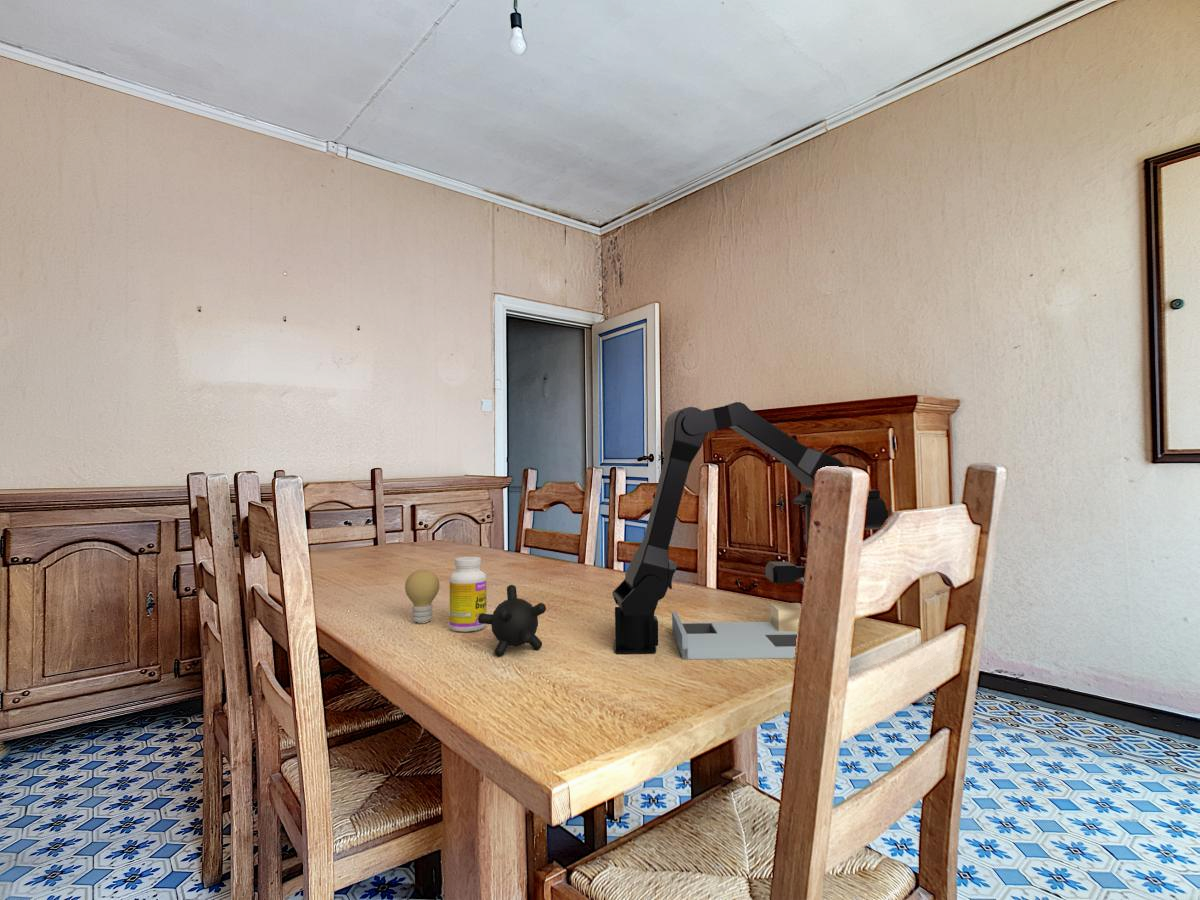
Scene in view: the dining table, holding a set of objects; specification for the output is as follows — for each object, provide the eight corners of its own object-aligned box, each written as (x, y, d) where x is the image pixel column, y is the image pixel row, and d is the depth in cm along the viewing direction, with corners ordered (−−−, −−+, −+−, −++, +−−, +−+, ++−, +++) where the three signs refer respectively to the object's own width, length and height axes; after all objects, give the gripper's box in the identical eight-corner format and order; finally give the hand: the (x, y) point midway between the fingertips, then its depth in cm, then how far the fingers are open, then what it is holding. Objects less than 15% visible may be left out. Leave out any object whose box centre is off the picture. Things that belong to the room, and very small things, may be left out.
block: (778, 631, 100) (778, 610, 101) (770, 623, 105) (770, 603, 106) (809, 631, 100) (808, 609, 100) (799, 623, 105) (799, 603, 105)
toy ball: (482, 648, 89) (458, 611, 99) (524, 684, 94) (497, 645, 105) (534, 595, 92) (505, 564, 102) (572, 633, 97) (541, 600, 107)
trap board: (682, 659, 92) (682, 635, 92) (672, 632, 107) (671, 611, 107) (835, 657, 92) (834, 633, 92) (803, 630, 107) (802, 609, 107)
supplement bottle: (478, 634, 107) (477, 561, 108) (443, 632, 109) (442, 560, 109) (492, 624, 114) (491, 555, 114) (459, 623, 115) (458, 555, 116)
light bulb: (405, 619, 119) (404, 568, 119) (439, 616, 121) (438, 566, 121) (405, 627, 113) (404, 573, 113) (440, 624, 114) (440, 571, 115)
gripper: (782, 536, 95) (783, 636, 95) (901, 535, 95) (903, 636, 95) (763, 529, 106) (765, 618, 106) (870, 528, 106) (872, 618, 106)
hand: (825, 623), depth 103 cm, fingers closed
